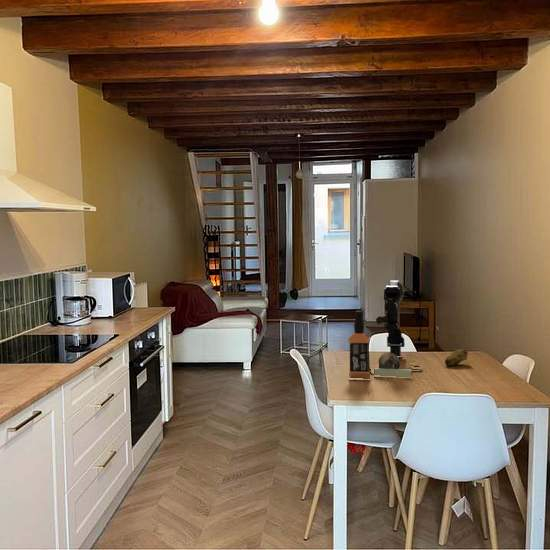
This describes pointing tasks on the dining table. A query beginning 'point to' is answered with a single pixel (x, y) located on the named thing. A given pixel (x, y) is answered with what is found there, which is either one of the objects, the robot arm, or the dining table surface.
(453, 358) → the olive brown frog figurine
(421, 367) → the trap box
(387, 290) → the robot arm
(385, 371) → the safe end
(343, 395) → the dining table surface
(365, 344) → the whiskey bottle
